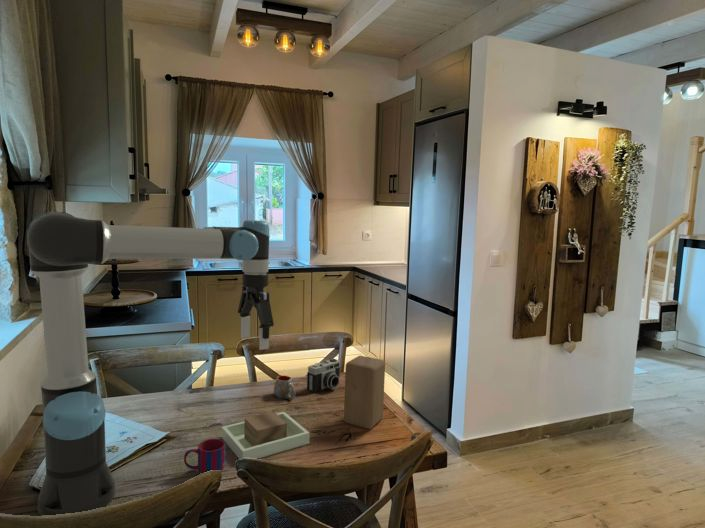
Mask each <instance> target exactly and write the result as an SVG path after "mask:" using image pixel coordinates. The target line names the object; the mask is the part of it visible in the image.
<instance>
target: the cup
mask: <svg viewBox="0 0 705 528" xmlns="http://www.w3.org/2000/svg"><path fill="white" fill-rule="evenodd" d="M190 453H195V454H197V465H191V464H189V463H188V462H187V456H188V455H189V454H190ZM183 460H184V465H185V466H186V467H187V468H188V469H190V470H197V473H198V475H200V473H204V472H207V471H210V470H221V471H220V472H222V471H224V469H225V468H226V442H225V441H224V440H223V439H222V438H221V439H220V438H208V439H205V440H202V441H201V442H199V444H198V445H197V449H196V448H192V449H190V448H189V449H188V450H186V452H185V453H184V457H183Z"/></svg>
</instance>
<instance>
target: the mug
mask: <svg viewBox="0 0 705 528" xmlns="http://www.w3.org/2000/svg"><path fill="white" fill-rule="evenodd" d="M293 381H294V380H293V379H292V376H288V375H280V374H279V375H277V376H276V379H275V381H274V383H273V384H274V386H273V387H274V388H273V395H274V396H275V397H276V398H279V399H287V400H289V401H292V400H294V399H295V397H296V388H295V386H294V384H293Z"/></svg>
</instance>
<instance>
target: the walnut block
mask: <svg viewBox="0 0 705 528" xmlns="http://www.w3.org/2000/svg"><path fill="white" fill-rule="evenodd" d="M244 421H245V425H244V438H245V439H246V440H247V441H248V442H249V443H250V444H251V445H252V447H253V446H257V445H261V444H264V443H268V442H271V441H275V440H279V439H282V438H286V437H287V423H286V422H285V421H284V420H283V419H282V418H280V417H279V416H278V415H277V413H276V412H274V411H269V412H264V413H261V414H256V415H251V416H247V417H244Z"/></svg>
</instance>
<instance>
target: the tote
mask: <svg viewBox="0 0 705 528" xmlns="http://www.w3.org/2000/svg"><path fill="white" fill-rule="evenodd" d="M276 414H277V415H278V416H279V417H280V418H282V419H283V420H284V421H285V422H286V423H287V437H286V438H282V439H279V440H275V441H271V442H268V443H264V444H261V445H257V446H253V447H252V445H251V444H250V443H249V442H248V441H247V440H246V439H245V438H244V425H245V420H244V421H240V422H236V423H232V424H228V425H224V426H221V440H223V441H224V442H225V444H226V445H227V446H228V447H229V448H230V450H231V451H232V452H233V453H234V454H235V456H236V457H237V458H238V459H239V460H240V458H244V457H251V458H259V459H262V458H265V457H266V458H267V457H268V456H272V455H275V454H279V453H282V452H286V451H289V450H291V449H296V448H299V447H302V446H305V445H309V444H310V437H311V436H310V434H311V433H310V431H308V430H307V429H306V428H305V427H303V426H302V425H301V424H300V423H298V422H297V421H296V420H294V419H293V418H292V417H291V416H290V415H289V414H288V413H286V412H285V411H281V412H277V413H276Z"/></svg>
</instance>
